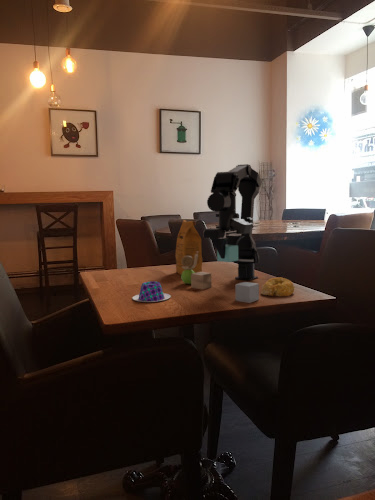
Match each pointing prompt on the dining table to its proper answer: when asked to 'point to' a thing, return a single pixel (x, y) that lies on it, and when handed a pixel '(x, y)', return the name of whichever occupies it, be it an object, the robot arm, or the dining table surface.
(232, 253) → the teal block
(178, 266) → the coffee package
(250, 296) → the grey cube
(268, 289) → the bagel
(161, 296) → the pudding
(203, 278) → the walnut block
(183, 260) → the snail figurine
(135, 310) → the dining table surface
